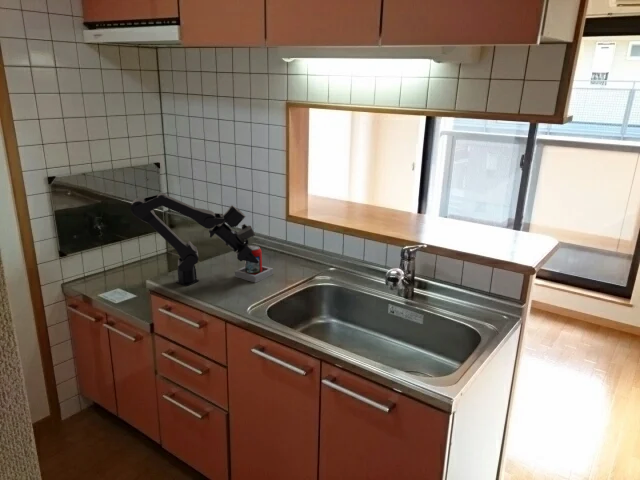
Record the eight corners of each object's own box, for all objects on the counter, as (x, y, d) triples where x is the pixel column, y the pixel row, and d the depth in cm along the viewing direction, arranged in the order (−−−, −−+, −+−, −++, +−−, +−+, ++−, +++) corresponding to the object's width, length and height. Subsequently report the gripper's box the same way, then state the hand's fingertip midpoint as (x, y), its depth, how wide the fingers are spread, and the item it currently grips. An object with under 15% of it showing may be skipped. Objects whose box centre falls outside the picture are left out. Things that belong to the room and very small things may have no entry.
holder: (255, 282, 195) (255, 276, 194) (235, 276, 201) (234, 270, 200) (273, 274, 204) (273, 268, 203) (253, 268, 209) (253, 263, 209)
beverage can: (242, 277, 200) (241, 249, 196) (249, 271, 206) (248, 243, 203) (258, 279, 198) (257, 250, 195) (265, 273, 204) (264, 245, 201)
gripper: (244, 226, 186) (274, 252, 192) (239, 214, 203) (266, 238, 209) (224, 248, 186) (255, 273, 192) (220, 234, 203) (248, 257, 209)
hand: (256, 259), depth 201 cm, fingers closed on beverage can, 7 cm apart
